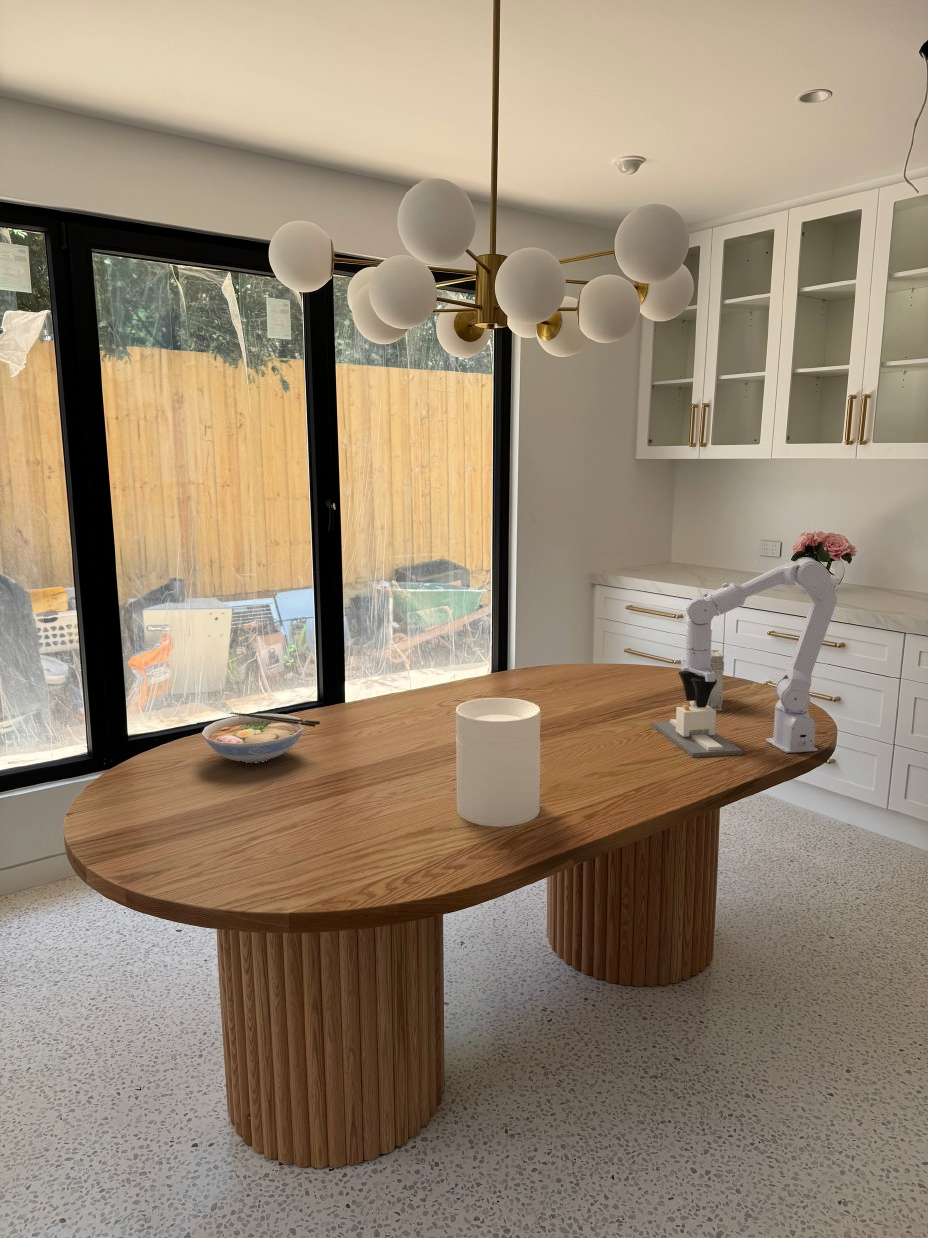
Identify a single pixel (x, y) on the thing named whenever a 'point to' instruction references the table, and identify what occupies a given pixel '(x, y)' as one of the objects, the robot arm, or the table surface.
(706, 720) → the block
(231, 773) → the table surface
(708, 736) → the din board
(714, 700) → the circuit breaker
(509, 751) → the canister
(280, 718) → the ramen bowl
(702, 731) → the block
